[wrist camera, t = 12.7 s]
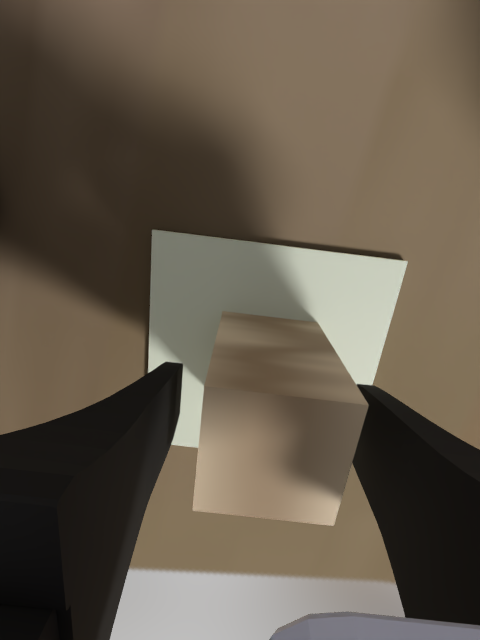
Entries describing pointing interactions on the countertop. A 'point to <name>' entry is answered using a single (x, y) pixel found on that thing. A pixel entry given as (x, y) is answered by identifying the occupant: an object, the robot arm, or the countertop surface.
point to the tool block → (276, 422)
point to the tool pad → (262, 304)
